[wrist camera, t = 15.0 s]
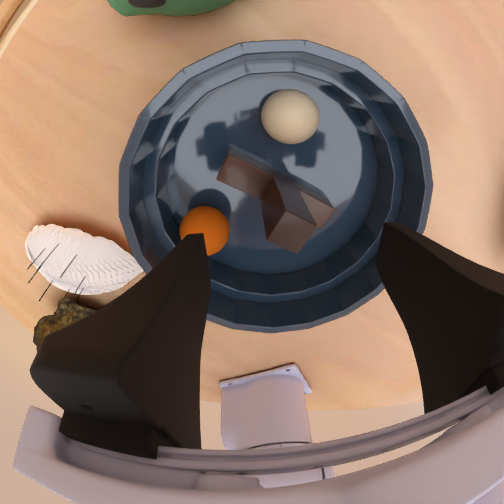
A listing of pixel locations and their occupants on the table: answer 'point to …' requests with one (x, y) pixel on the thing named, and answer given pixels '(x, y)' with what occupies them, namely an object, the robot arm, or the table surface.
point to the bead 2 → (290, 116)
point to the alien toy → (166, 7)
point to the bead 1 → (206, 227)
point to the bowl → (287, 163)
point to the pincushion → (79, 260)
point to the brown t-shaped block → (278, 200)
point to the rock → (60, 319)
